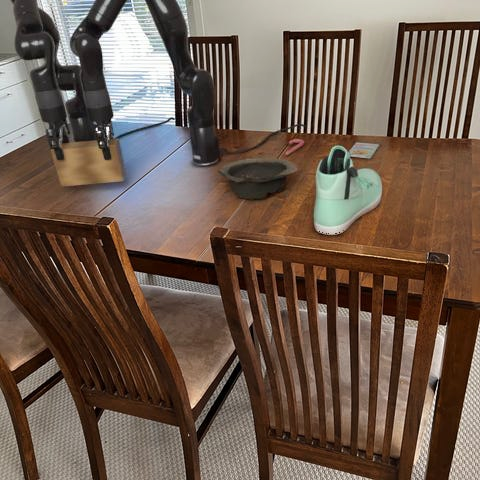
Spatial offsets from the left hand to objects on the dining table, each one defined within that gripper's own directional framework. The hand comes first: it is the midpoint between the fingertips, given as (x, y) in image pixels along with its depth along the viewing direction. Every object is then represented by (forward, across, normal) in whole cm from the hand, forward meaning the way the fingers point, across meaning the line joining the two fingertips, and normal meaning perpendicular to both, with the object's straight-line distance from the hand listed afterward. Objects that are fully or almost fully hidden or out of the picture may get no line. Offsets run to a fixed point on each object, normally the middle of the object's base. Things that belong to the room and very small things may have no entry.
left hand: (64, 154), depth 153 cm
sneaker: (+14, -26, -86) cm, 90 cm away
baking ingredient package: (+14, +17, -102) cm, 104 cm away
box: (+10, 0, -7) cm, 12 cm away
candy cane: (+14, +25, -77) cm, 82 cm away
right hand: (+2, 0, -14) cm, 14 cm away
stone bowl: (+14, -7, -61) cm, 63 cm away
